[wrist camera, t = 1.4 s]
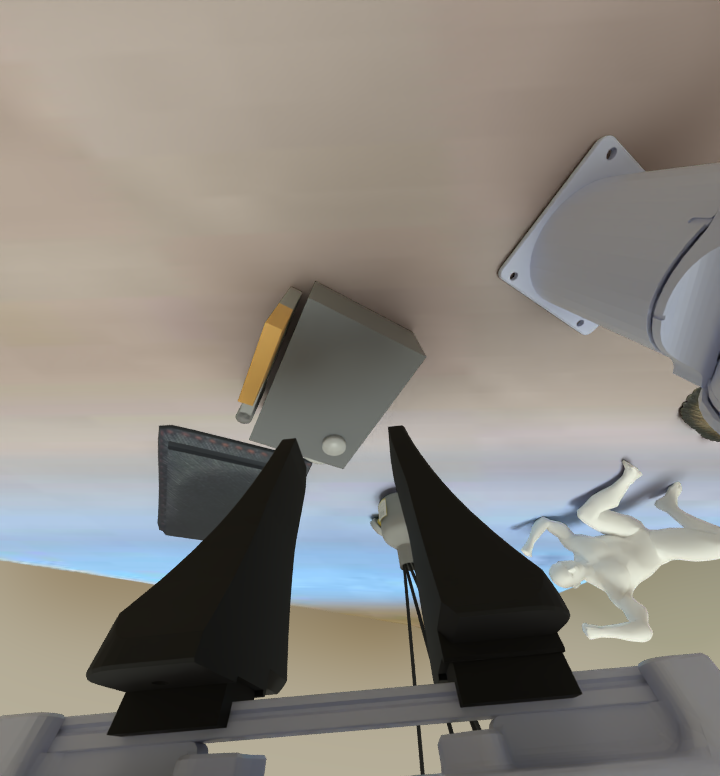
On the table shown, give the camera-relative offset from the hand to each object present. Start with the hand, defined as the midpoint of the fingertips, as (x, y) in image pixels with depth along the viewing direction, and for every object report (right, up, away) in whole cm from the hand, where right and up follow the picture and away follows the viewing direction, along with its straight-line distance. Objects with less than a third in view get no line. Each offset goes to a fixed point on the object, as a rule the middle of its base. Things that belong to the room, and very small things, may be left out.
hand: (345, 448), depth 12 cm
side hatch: (-6, +6, +8) cm, 11 cm away
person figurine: (+31, -13, +24) cm, 41 cm away
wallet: (-15, -10, +19) cm, 26 cm away
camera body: (-2, +4, +10) cm, 11 cm away
